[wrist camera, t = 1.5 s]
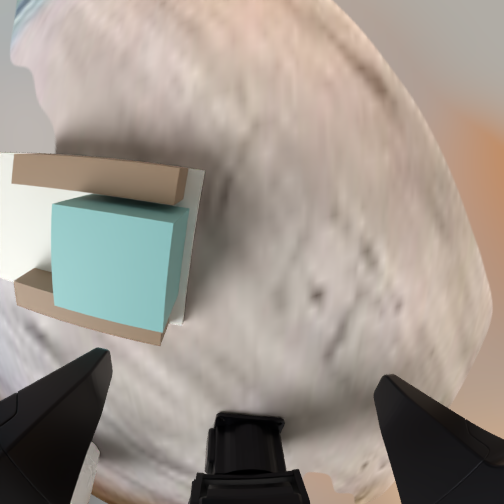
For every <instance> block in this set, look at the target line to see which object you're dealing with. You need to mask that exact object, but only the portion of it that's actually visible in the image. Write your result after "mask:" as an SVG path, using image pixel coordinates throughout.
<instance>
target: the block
mask: <svg viewBox="0 0 504 504" xmlns="http://www.w3.org/2000/svg"><path fill="white" fill-rule="evenodd" d="M188 215H189V208H183V207H177V206H171V205H165V204H158V203H152V202H146V201H139V200H132V199H125V198H119V197H112V196H105V195H97V194H89V195H85V196H81V197H77V198H73V199H69V200H65V201H61V202H57V203H54V204H52V214H51V265H52V284H53V296H54V305H55V306H58V307H61V308H65V309H68V310H72V311H75V312H79V313H82V314H86V315H89V316H93V317H97V318H101V319H105V320H108V321H112V322H117V323H121V324H125V325H129V326H134V327H138V328H142V329H147V330H152V331H157V332H161V333H163V331H164V328H165V326H166V323H167V321H168V318H169V316H170V313H171V311H172V308H173V306H174V303H175V301H176V299H177V296H178V291H179V282H180V273H181V265H182V257H183V250H184V242H185V235H186V228H187V222H188Z"/></svg>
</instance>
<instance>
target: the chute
mask: <svg viewBox="0 0 504 504" xmlns="http://www.w3.org/2000/svg"><path fill="white" fill-rule="evenodd" d="M204 174H205V170H199V169H192V168H186V167H179V166H172V165H165V164H157V163H149V162H141V161H133V160H123V159H114V158H103V157H92V156H79V155H64V154H46V153H13V152H10V153H8V152H0V278H2V279H5V280H8V281H11V282H14V288H15V295H16V302H17V305H18V306H21V307H23V308H26V309H29V310H32V311H34V312H37V313H40V314H43V315H46V316H49V317H52V318H55V319H58V320H61V321H64V322H68V323H71V324H74V325H78V326H81V327H84V328H88V329H91V330H95V331H99V332H102V333H106V334H110V335H114V336H118V337H122V338H126V339H130V340H134V341H139V342H143V343H148V344H152V345H157V346H160V345H161V342H162V340H163V337H164V334H165V332H166V329H167V327H168V324H169V323H170V324H175V325H180V326H182V324H183V319H184V310H185V301H186V293H187V285H188V277H189V269H190V262H191V255H192V248H193V241H194V234H195V228H196V221H197V215H198V209H199V203H200V197H201V191H202V185H203V180H204ZM89 194H97V195H105V196H112V197H119V198H125V199H132V200H139V201H146V202H152V203H158V204H165V205H171V206H177V207H183V208H189V215H188V222H187V228H186V235H185V242H184V250H183V257H182V265H181V273H180V282H179V291H178V296H177V299H176V301H175V303H174V306H173V308H172V311H171V313H170V316H169V318H168V321H167V323H166V326H165V328H164V331H163V333H161V332H157V331H152V330H147V329H142V328H138V327H134V326H129V325H125V324H121V323H117V322H112V321H108V320H105V319H101V318H97V317H93V316H89V315H86V314H82V313H79V312H75V311H72V310H68V309H65V308H61V307H58V306H55V305H54V296H53V284H52V265H51V214H52V204H54V203H57V202H61V201H65V200H69V199H73V198H77V197H81V196H85V195H89Z"/></svg>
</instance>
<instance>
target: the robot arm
mask: <svg viewBox="0 0 504 504" xmlns="http://www.w3.org/2000/svg"><path fill="white" fill-rule="evenodd" d="M112 372H113V370H112V363H111V355H110V352H109V350H107V349H103V348H95V349H93V350H91V351H90V352H88V353H86V354H84V355H82V356H81V357H79V358H77V359H75V360H74V361H72V362H70V363H68V364H66V365H65V366H63V367H61V368H59V369H57V370H56V371H54V372H52V373H50V374H49V375H47V376H45V377H43V378H41V379H40V380H38V381H36V382H34V383H32V384H31V385H29V386H27V387H25V388H23V389H22V390H20V391H18V393H14V394H12V395H11V396H9V397H7V398H5V399H3V400H1V401H0V504H70V503H71V499H72V496H73V493H74V490H75V487H76V484H77V481H78V478H79V475H80V472H81V469H82V466H83V463H84V460H85V457H86V454H87V452H88V449H89V446H90V444H91V441H92V438H93V436H94V433H95V430H96V428H97V425H98V423H99V420H100V417H101V414H102V411H103V407H104V403H105V400H106V396H107V392H108V389H109V385H110V381H111V378H112ZM374 401H375V406H376V411H377V415H378V420H379V425H380V430H381V434H382V437H383V440H384V444H385V447H386V450H387V453H388V457H389V460H390V463H391V467H392V470H393V474H394V477H395V481H396V484H397V488H398V492H399V496H400V499H401V503H402V504H504V439H502V438H500V437H497V436H495V435H493V434H491V433H489V432H487V431H485V430H483V429H482V428H480V427H478V426H476V425H475V424H473V423H471V422H470V421H468V420H465V418H463V417H461V416H460V415H458V414H456V413H455V412H453V411H451V410H450V409H448V408H447V407H445V406H444V405H442V404H440V403H439V402H437V401H436V400H434V399H432V398H431V397H429V396H428V395H426V394H424V393H423V392H421V391H420V390H418V389H417V388H415V387H413V386H412V385H410V384H409V383H407V382H406V381H404V380H402V379H401V378H399V377H398V376H396V375H394V374H389V375H384V376H383V377H382V378H381V380H380V382H379V384H378V386H377V388H376V389H375V391H374ZM279 422H280V423H279ZM284 424H285V422H284V419H283V418H273V417H257V416H245V415H235V414H226V413H218V414H217V415H216V419H215V424H214V428H210V429H209V432H208V438H207V445H206V460H205V472H206V473H207V474H204V473H197V476H196V479H194V481H192V489H191V496H190V499H189V502H188V504H310V500H309V497H308V494H307V491H306V488H305V486H304V483H303V480H302V477H301V474H300V471H299V469H295V470H292V471H286V465H285V460H284V454H283V448H282V442H281V437H280V433H281V431H282V429H283V426H284Z"/></svg>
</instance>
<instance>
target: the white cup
mask: <svg viewBox="0 0 504 504" xmlns="http://www.w3.org/2000/svg"><path fill="white" fill-rule="evenodd" d="M99 456H100V451H99V450H98V448H97V447H96V445H95V444H94V443H93V442H92V441H91V444H90V446H89V449H88V452H87V454H86V457H85V460H84V463H83V466H82V469H81V472H80V475H79V478H78V481H77V484H76V487H75V490H74V493H73V496H72V499H71V503H70V504H88V503H89V499H90V495H91V491H92V486H93V482H94V478H95V474H96V467H97V464H98V460H99Z"/></svg>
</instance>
